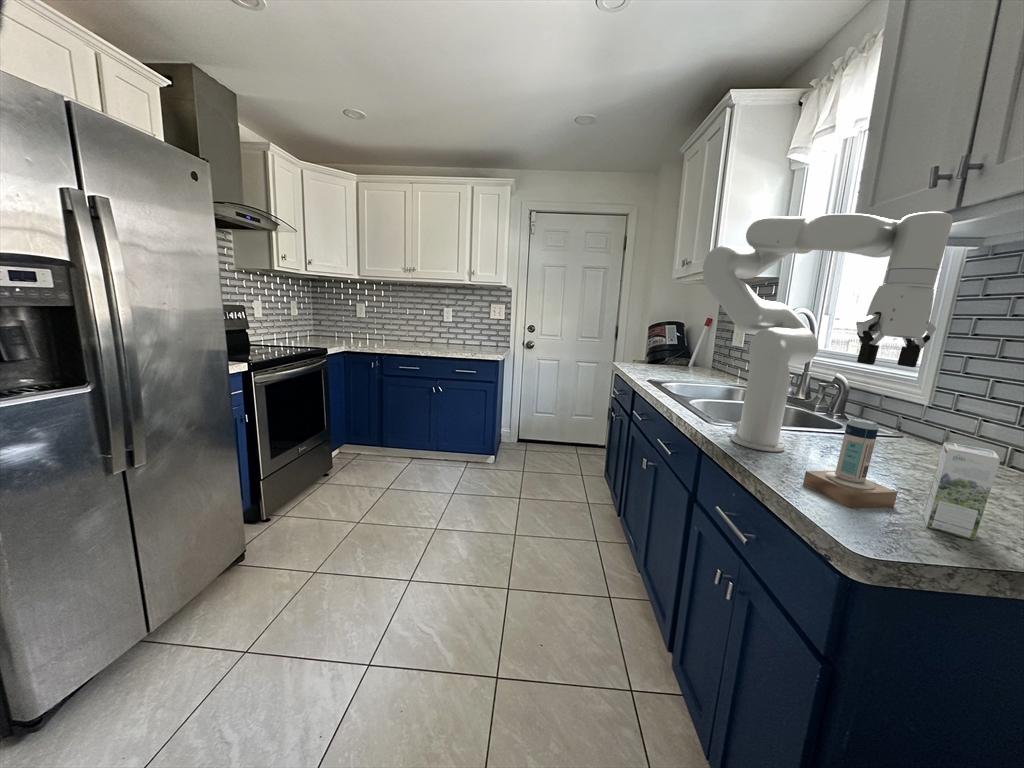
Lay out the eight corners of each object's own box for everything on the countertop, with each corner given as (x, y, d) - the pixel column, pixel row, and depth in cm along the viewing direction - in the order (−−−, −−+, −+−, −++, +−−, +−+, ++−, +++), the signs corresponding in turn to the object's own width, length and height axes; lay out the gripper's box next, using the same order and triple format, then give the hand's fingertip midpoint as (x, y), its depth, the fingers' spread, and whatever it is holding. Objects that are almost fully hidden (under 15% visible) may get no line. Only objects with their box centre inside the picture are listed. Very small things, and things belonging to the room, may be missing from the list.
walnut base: (802, 484, 84) (805, 469, 83) (842, 483, 86) (845, 469, 85) (850, 508, 74) (854, 491, 74) (893, 506, 76) (898, 490, 75)
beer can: (860, 477, 81) (874, 420, 78) (869, 486, 76) (884, 425, 74) (830, 472, 83) (844, 415, 80) (838, 480, 78) (852, 421, 76)
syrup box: (969, 529, 69) (993, 448, 67) (975, 542, 65) (1001, 457, 62) (922, 516, 73) (943, 439, 70) (925, 528, 68) (948, 446, 66)
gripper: (925, 284, 85) (902, 364, 88) (853, 277, 82) (832, 359, 86) (968, 283, 77) (942, 370, 81) (890, 275, 75) (866, 365, 79)
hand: (885, 364), depth 83 cm, fingers open, 9 cm apart
